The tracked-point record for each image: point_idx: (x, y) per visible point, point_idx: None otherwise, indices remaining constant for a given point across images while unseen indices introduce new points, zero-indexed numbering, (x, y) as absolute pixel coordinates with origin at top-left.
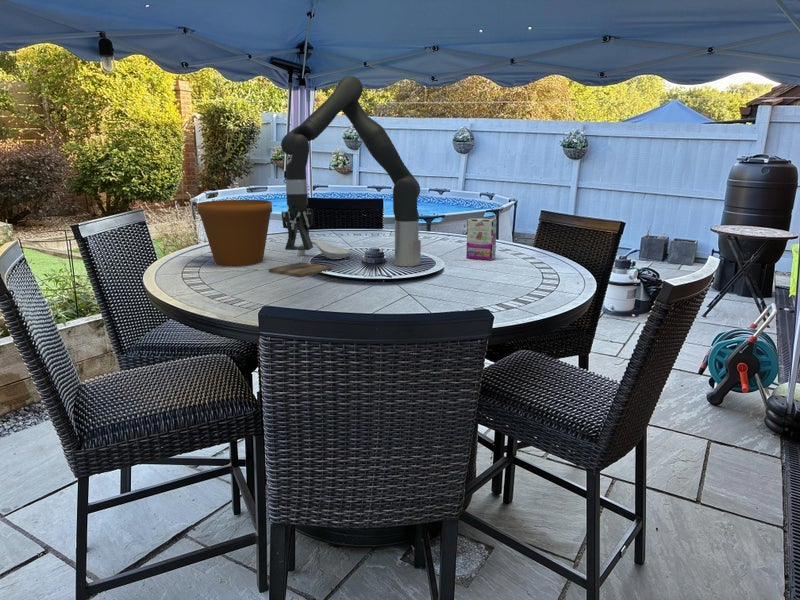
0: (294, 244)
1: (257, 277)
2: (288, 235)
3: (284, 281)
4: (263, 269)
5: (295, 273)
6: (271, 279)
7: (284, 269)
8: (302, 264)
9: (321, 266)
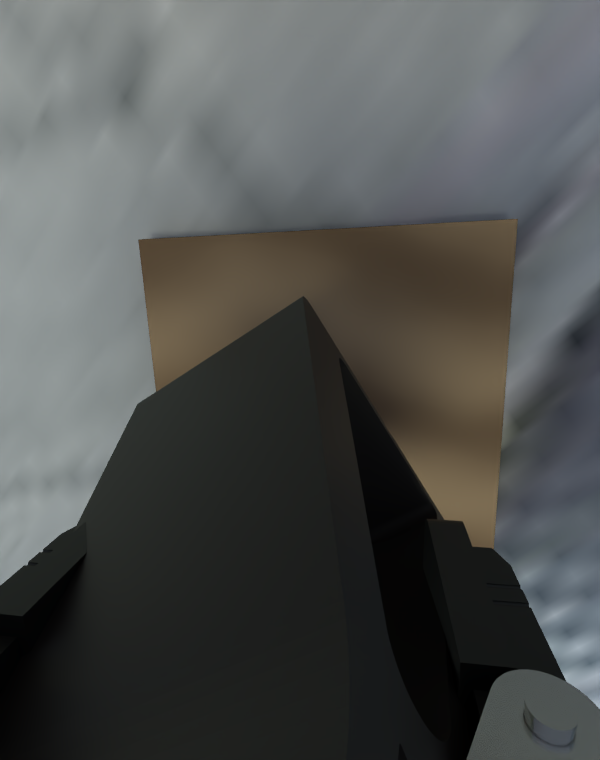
0: (338, 362)
1: (6, 318)
2: (41, 554)
3: (61, 531)
4: (185, 106)
5: None
6: (38, 435)
7: (203, 358)
8: (439, 323)
9: (461, 508)
